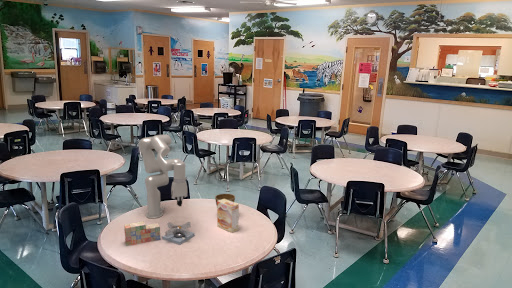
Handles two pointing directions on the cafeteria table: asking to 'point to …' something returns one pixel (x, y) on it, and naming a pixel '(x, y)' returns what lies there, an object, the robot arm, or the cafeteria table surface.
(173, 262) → the cafeteria table surface
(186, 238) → the stand
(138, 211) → the cafeteria table surface
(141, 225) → the stack of blocks
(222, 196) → the plant pot
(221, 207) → the coffeecake box
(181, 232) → the capstan
